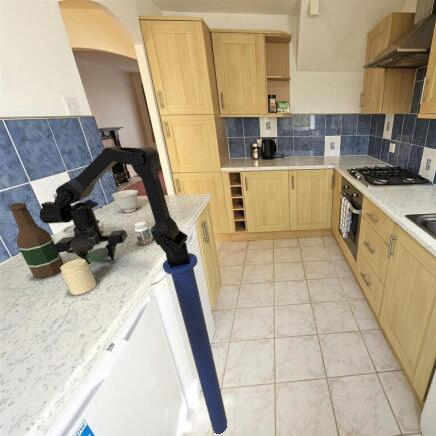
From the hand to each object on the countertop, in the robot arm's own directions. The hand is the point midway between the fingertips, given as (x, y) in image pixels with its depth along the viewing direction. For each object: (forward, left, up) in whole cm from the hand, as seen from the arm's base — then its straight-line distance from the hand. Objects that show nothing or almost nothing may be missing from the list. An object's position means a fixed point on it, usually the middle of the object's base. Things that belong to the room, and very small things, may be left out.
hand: (101, 262), depth 84 cm
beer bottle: (+15, -2, -1) cm, 15 cm away
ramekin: (+10, -23, -1) cm, 25 cm away
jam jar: (+2, +13, -1) cm, 13 cm away
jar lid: (0, 0, +3) cm, 3 cm away
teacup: (+1, -59, -1) cm, 59 cm away
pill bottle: (-12, -12, -1) cm, 17 cm away
